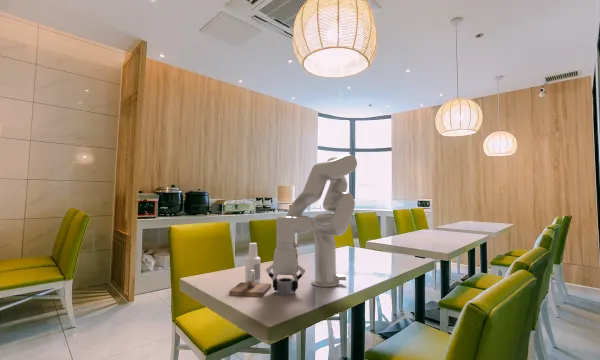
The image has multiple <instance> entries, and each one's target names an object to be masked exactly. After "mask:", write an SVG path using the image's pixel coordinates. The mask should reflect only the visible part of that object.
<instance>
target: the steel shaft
mask: <svg viewBox="0 0 600 360" xmlns="http://www.w3.org/2000/svg"><path fill="white" fill-rule="evenodd" d="M254 287H255V270H254V269H249V270H248V288H254Z"/></svg>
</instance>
